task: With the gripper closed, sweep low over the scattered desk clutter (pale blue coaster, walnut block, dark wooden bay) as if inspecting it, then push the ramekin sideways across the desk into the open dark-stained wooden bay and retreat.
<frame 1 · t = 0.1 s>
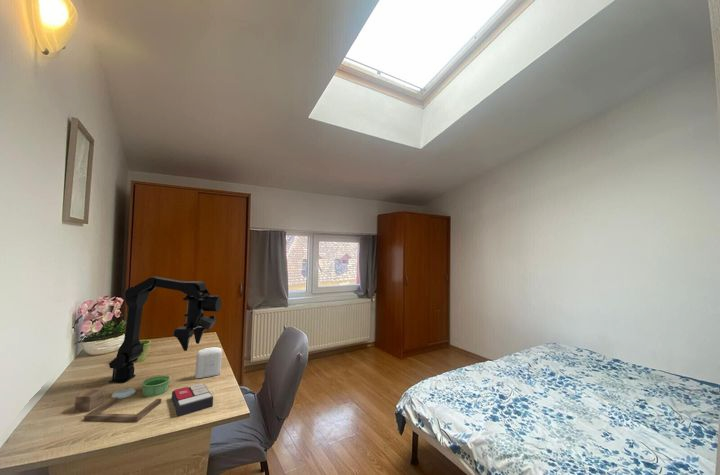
hand: (191, 347, 120), 15 cm above the table, fingers open, 9 cm apart
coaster: (123, 394, 107), on the table
bay: (128, 408, 98), on the table
plant pot: (137, 361, 138), on the table
walnut block: (88, 407, 98), on the table
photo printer: (207, 376, 126), on the table
ramekin: (155, 392, 110), on the table
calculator: (191, 403, 104), on the table
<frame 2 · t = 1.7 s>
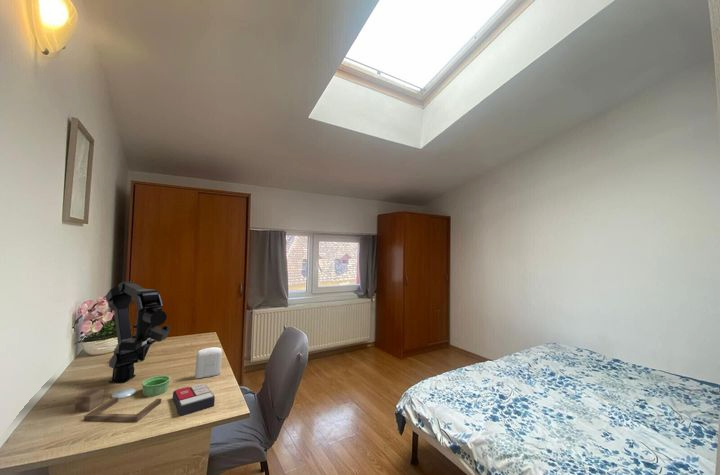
hand: (141, 360, 112), 11 cm above the table, fingers closed
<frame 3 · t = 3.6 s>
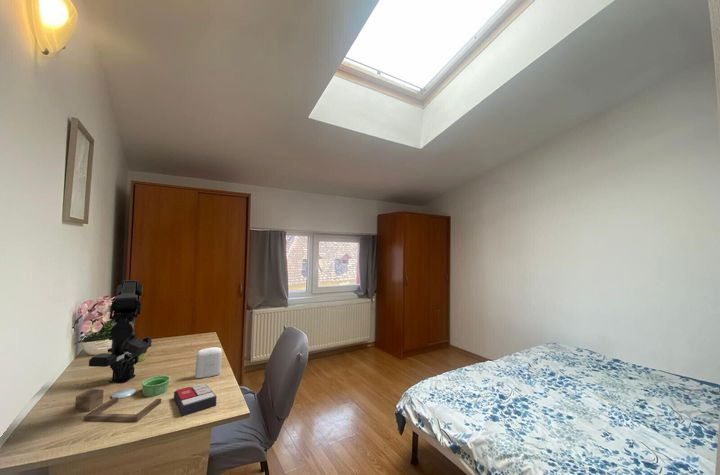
hand: (119, 377, 98), 11 cm above the table, fingers closed
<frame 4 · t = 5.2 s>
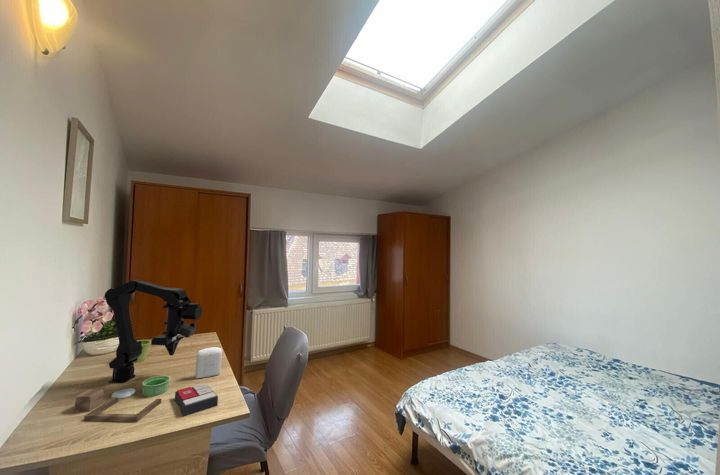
hand: (171, 355, 119), 11 cm above the table, fingers closed
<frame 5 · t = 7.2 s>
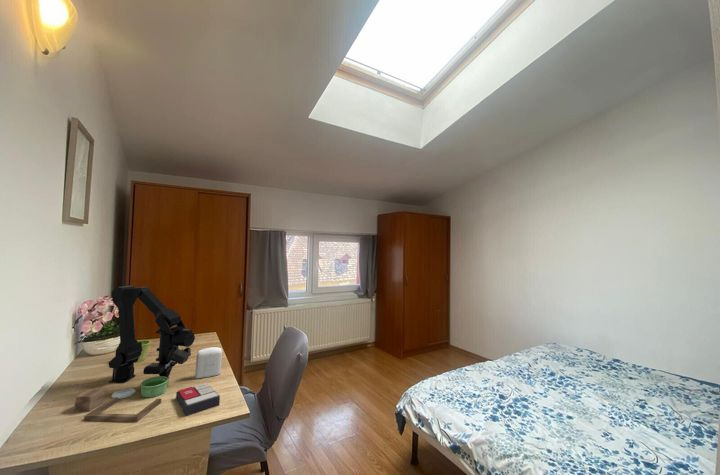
hand: (164, 382, 116), 1 cm above the table, fingers closed
ramekin: (153, 393, 109), on the table, touching gripper
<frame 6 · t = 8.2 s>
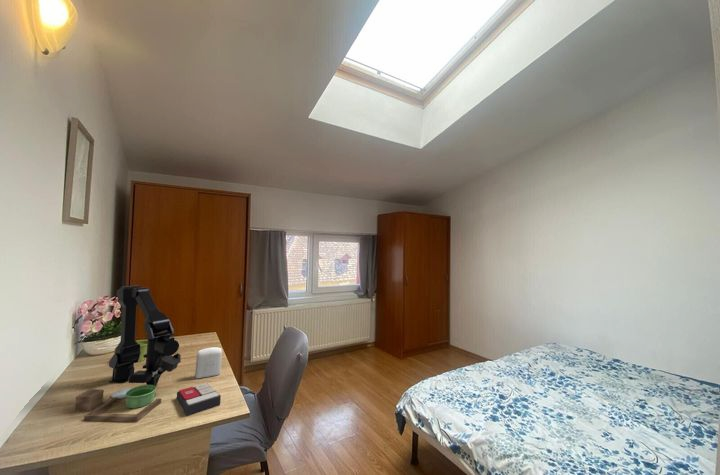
hand: (152, 390, 108), 1 cm above the table, fingers closed
ramekin: (140, 403, 102), on the table, touching gripper
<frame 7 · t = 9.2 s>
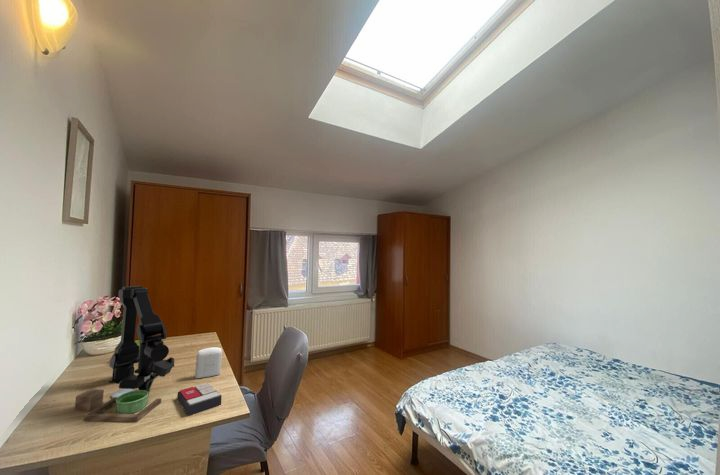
hand: (144, 396, 104), 1 cm above the table, fingers closed
ramekin: (131, 409, 98), on the table, touching gripper
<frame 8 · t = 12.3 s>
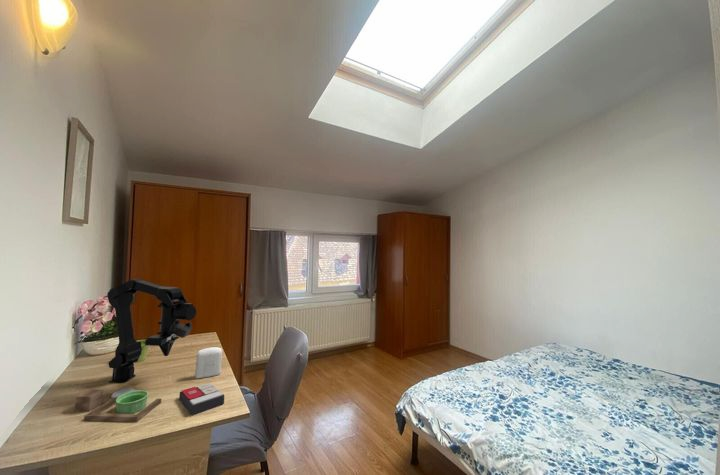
hand: (166, 355, 116), 12 cm above the table, fingers closed
ramekin: (131, 409, 98), on the table
at the end: ramekin inside the target area (1.2 cm from its centre), on the table; ramekin tilted 0° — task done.
